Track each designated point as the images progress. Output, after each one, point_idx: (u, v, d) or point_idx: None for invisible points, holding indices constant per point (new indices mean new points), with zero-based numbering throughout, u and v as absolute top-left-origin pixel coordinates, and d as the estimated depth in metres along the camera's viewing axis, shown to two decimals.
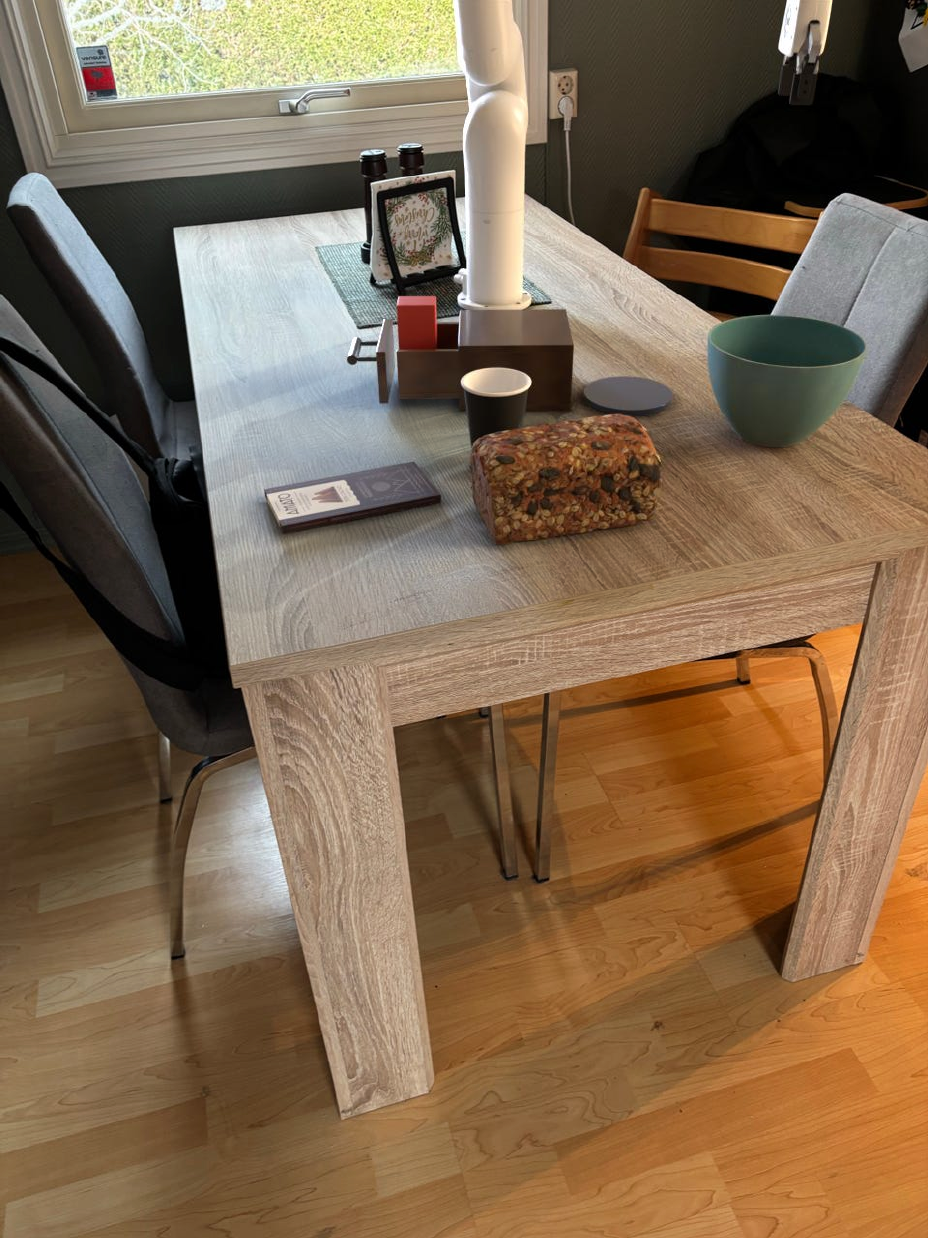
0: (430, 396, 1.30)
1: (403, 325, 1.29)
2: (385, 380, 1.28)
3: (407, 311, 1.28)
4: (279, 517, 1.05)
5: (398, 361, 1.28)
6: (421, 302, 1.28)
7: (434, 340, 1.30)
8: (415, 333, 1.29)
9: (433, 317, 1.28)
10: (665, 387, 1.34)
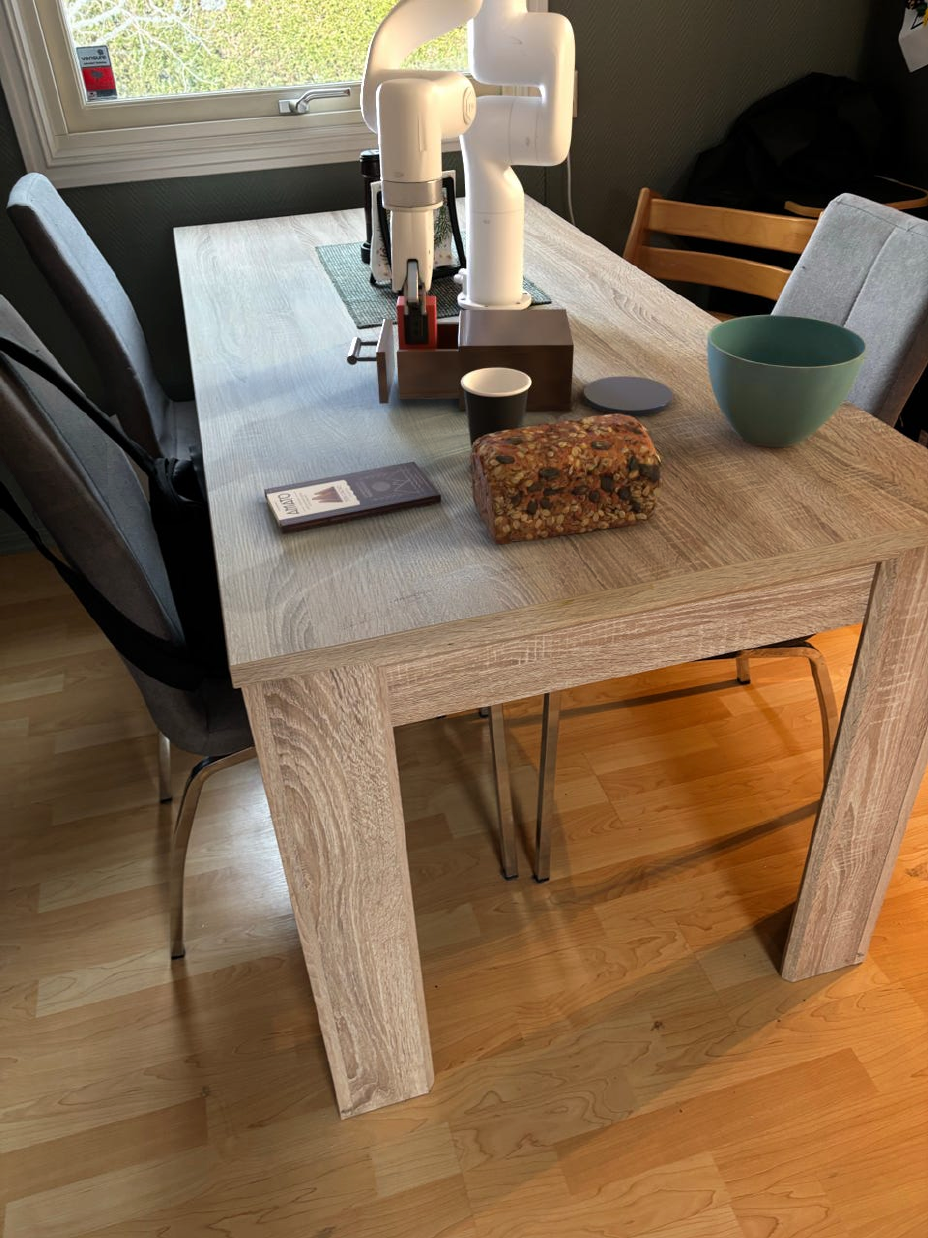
0: (430, 396, 1.30)
1: (403, 325, 1.29)
2: (385, 380, 1.28)
3: None
4: (279, 517, 1.05)
5: (398, 361, 1.28)
6: None
7: (434, 340, 1.30)
8: None
9: (433, 317, 1.28)
10: (665, 387, 1.34)
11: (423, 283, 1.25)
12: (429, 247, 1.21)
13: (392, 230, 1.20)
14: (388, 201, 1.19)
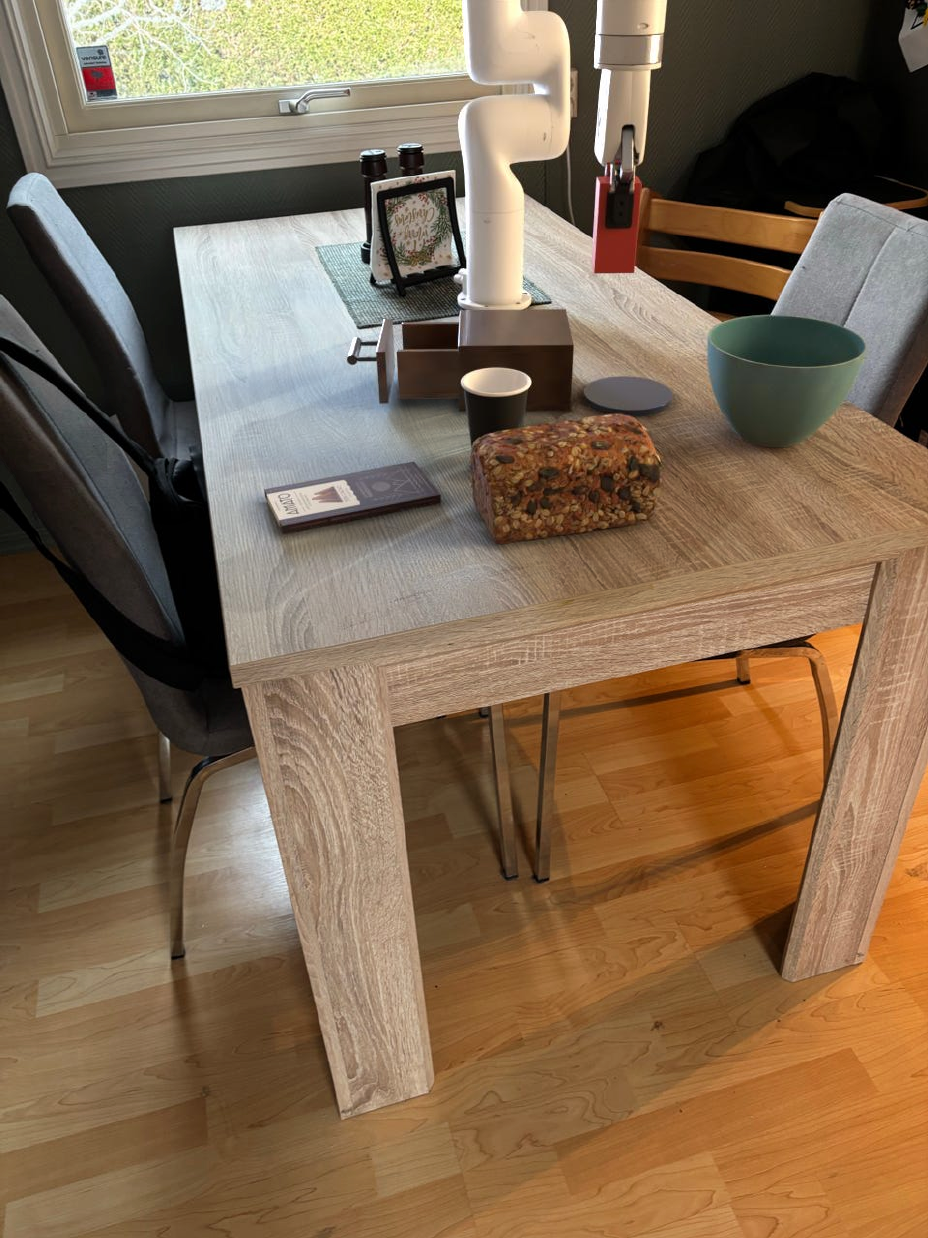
0: (430, 396, 1.30)
1: (604, 206, 1.17)
2: (385, 380, 1.28)
3: None
4: (279, 517, 1.05)
5: (398, 361, 1.28)
6: None
7: (636, 224, 1.19)
8: None
9: (638, 197, 1.17)
10: (665, 387, 1.34)
11: (634, 156, 1.13)
12: (647, 112, 1.10)
13: (609, 91, 1.08)
14: (605, 59, 1.08)
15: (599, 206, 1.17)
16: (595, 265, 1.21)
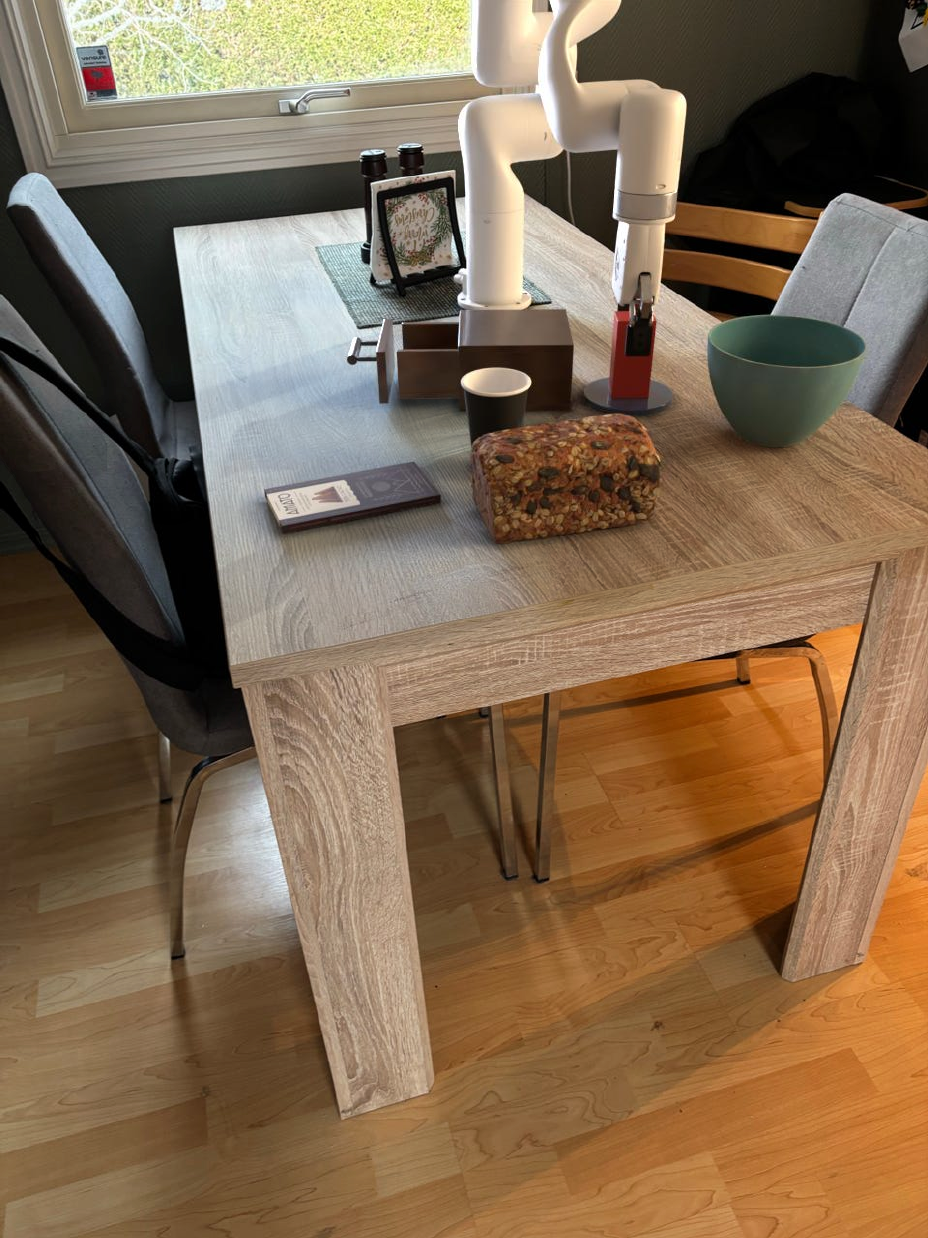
0: (430, 396, 1.30)
1: (621, 341, 1.26)
2: (385, 380, 1.28)
3: None
4: (279, 517, 1.05)
5: (398, 361, 1.28)
6: None
7: (651, 356, 1.28)
8: None
9: (653, 333, 1.26)
10: (665, 387, 1.34)
11: None
12: (662, 260, 1.19)
13: (627, 243, 1.17)
14: (624, 213, 1.17)
15: (617, 340, 1.26)
16: (612, 391, 1.31)
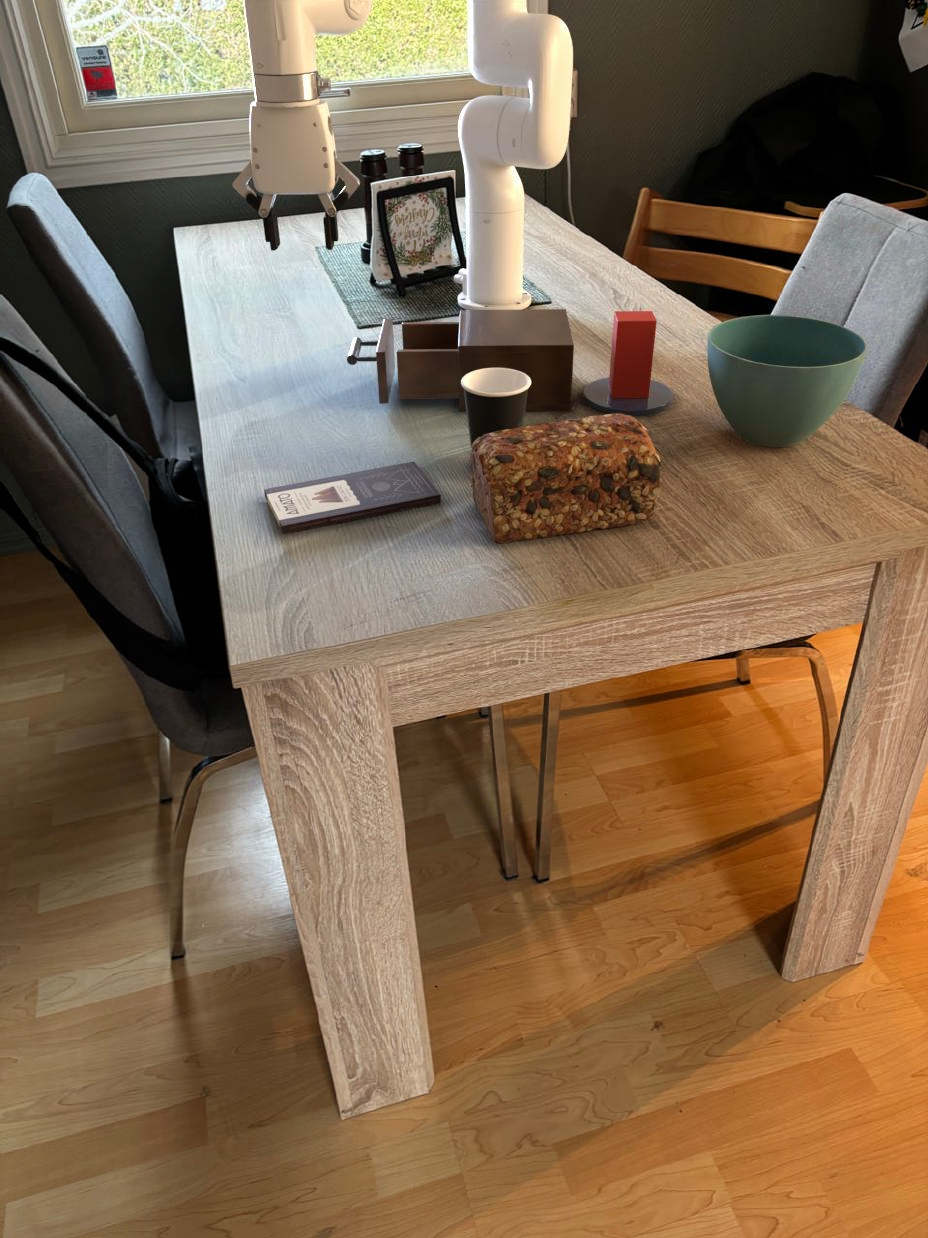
0: (430, 396, 1.30)
1: (621, 341, 1.26)
2: (385, 380, 1.28)
3: (628, 326, 1.25)
4: (279, 517, 1.05)
5: (398, 361, 1.28)
6: (641, 317, 1.26)
7: (651, 356, 1.28)
8: (633, 349, 1.27)
9: (653, 333, 1.26)
10: (665, 387, 1.34)
11: None
12: (256, 145, 1.16)
13: None
14: None
15: (617, 340, 1.26)
16: (612, 391, 1.31)
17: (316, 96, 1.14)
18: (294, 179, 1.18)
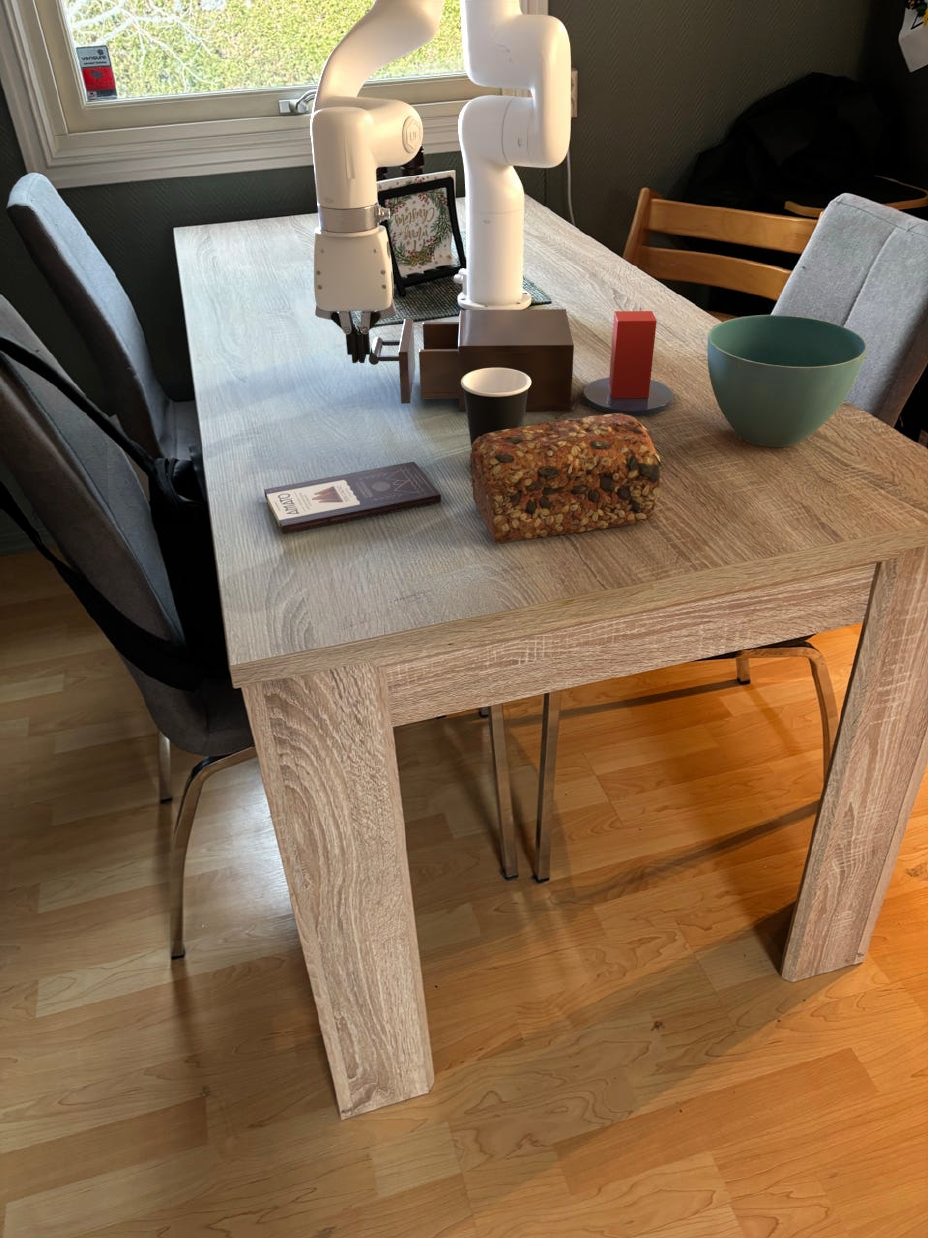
0: (452, 396, 1.30)
1: (621, 341, 1.26)
2: (407, 380, 1.28)
3: (628, 326, 1.25)
4: (279, 517, 1.05)
5: (420, 361, 1.28)
6: (641, 317, 1.26)
7: (651, 356, 1.28)
8: (633, 349, 1.27)
9: (653, 333, 1.26)
10: (665, 387, 1.34)
11: None
12: (319, 268, 1.24)
13: None
14: None
15: (617, 340, 1.26)
16: (612, 391, 1.31)
17: (377, 225, 1.22)
18: (354, 298, 1.26)
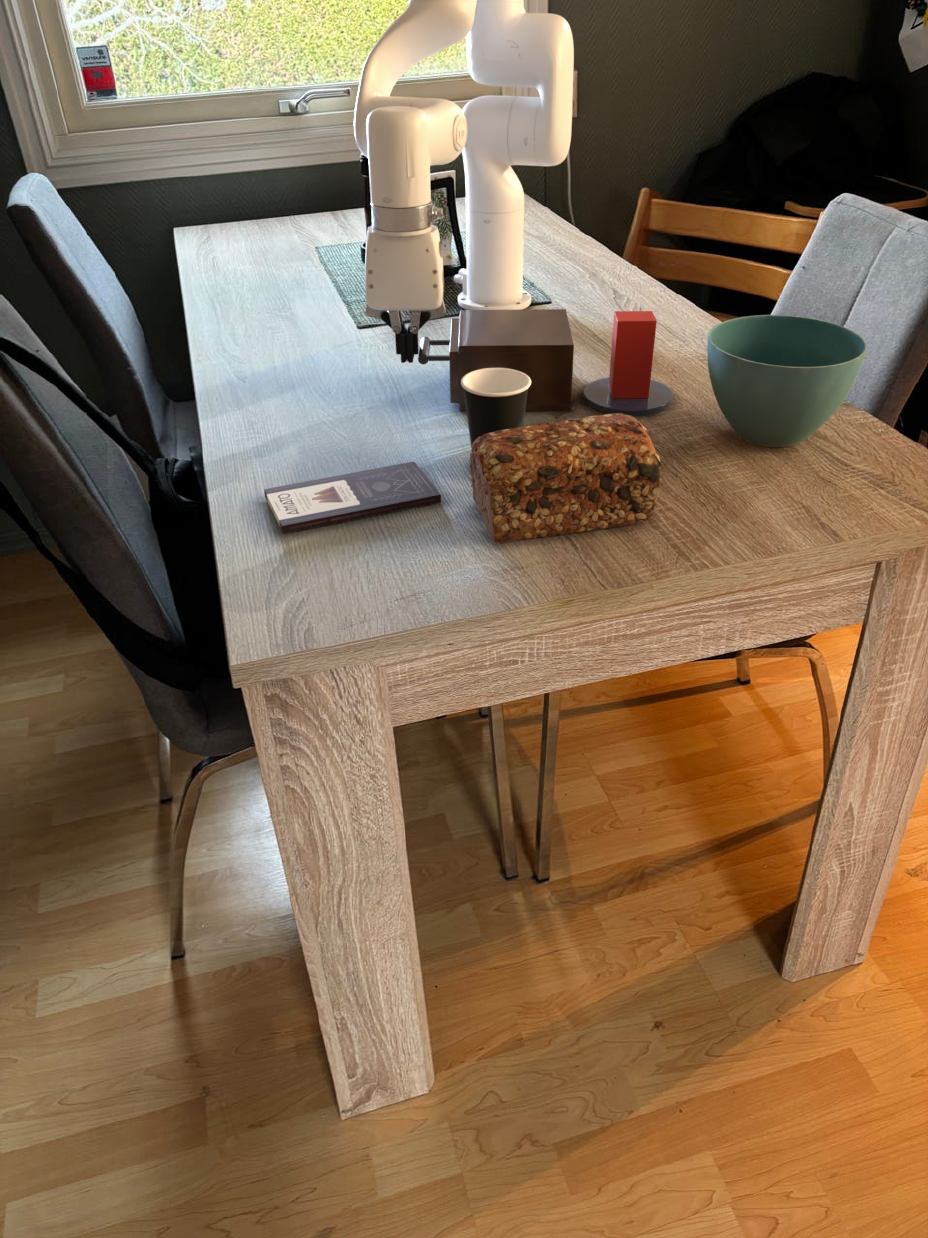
0: None
1: (621, 341, 1.26)
2: (457, 379, 1.28)
3: (628, 326, 1.25)
4: (279, 517, 1.05)
5: None
6: (641, 317, 1.26)
7: (651, 356, 1.28)
8: (633, 349, 1.27)
9: (653, 333, 1.26)
10: (665, 387, 1.34)
11: None
12: (371, 267, 1.25)
13: None
14: None
15: (617, 340, 1.26)
16: (612, 391, 1.31)
17: (429, 224, 1.22)
18: (405, 298, 1.26)
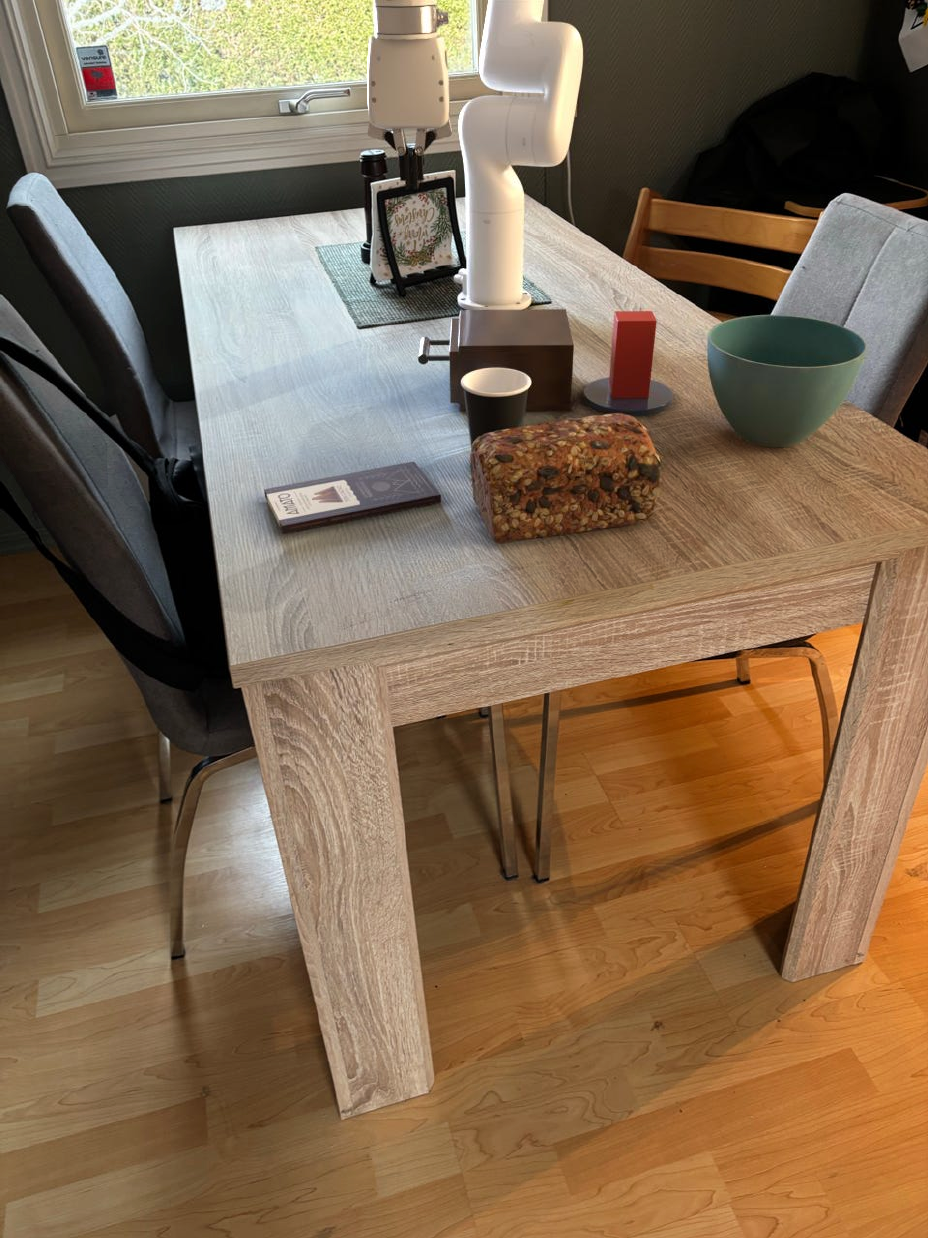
0: None
1: (621, 341, 1.26)
2: (457, 379, 1.28)
3: (628, 326, 1.25)
4: (279, 517, 1.05)
5: None
6: (641, 317, 1.26)
7: (651, 356, 1.28)
8: (633, 349, 1.27)
9: (653, 333, 1.26)
10: (665, 387, 1.34)
11: None
12: (374, 78, 1.19)
13: None
14: None
15: (617, 340, 1.26)
16: (612, 391, 1.31)
17: (435, 29, 1.17)
18: (409, 113, 1.21)
